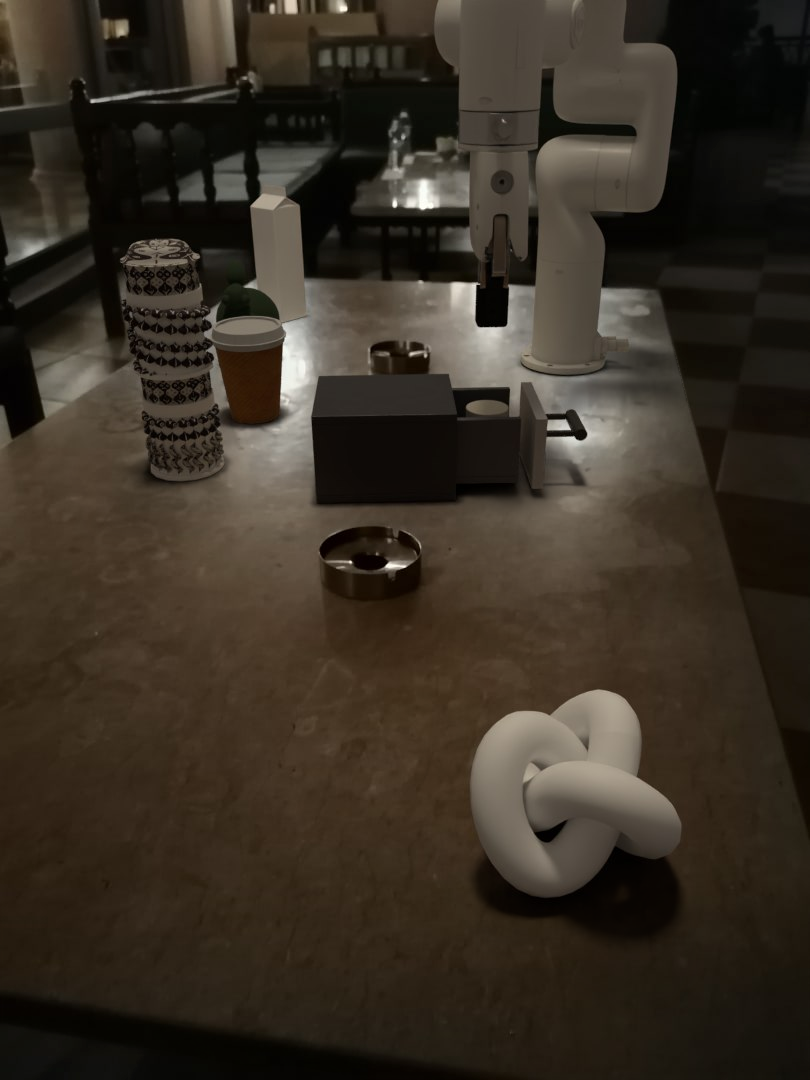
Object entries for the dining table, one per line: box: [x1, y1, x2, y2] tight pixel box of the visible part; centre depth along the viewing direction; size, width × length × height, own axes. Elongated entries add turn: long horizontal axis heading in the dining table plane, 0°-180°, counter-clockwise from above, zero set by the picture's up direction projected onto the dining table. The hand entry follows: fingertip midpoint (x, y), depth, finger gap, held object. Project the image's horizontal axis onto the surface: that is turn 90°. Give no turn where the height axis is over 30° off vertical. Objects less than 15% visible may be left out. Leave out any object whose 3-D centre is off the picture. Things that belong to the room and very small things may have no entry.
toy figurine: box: [215, 259, 280, 323], centre depth 131 cm, size 9×19×25 cm
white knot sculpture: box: [469, 688, 683, 899], centre depth 53 cm, size 11×12×9 cm
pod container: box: [466, 400, 510, 417], centre depth 100 cm, size 5×5×6 cm
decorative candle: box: [119, 238, 225, 482], centre depth 99 cm, size 9×9×25 cm
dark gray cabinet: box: [310, 373, 457, 504], centre depth 99 cm, size 15×13×10 cm
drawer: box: [452, 381, 588, 490], centre depth 100 cm, size 18×12×8 cm, turn 91°
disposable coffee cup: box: [209, 316, 287, 425], centre depth 116 cm, size 10×10×12 cm
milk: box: [249, 184, 307, 324], centre depth 157 cm, size 6×6×22 cm
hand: (491, 324), depth 94 cm, fingers closed
